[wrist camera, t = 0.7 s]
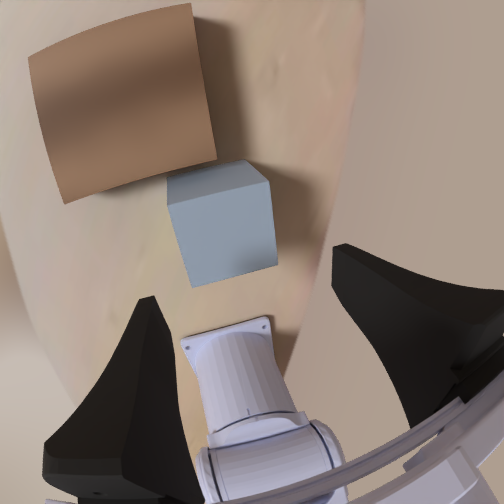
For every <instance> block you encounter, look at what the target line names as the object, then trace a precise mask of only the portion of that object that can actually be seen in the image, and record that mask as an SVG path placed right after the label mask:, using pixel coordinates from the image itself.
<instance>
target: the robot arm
mask: <svg viewBox="0 0 504 504" xmlns="http://www.w3.org/2000/svg"><path fill="white" fill-rule="evenodd" d="M331 286H332V288H333V290H334V291H335V293H336V295H337V297H338V299H339V301H340V302H341V304H342V306H343V307H344V308H345V310H346V311H347V312H348V314H349V315H350V316H351V318H352V319H353V320H354V322H355V323H356V324H357V325H358V327H359V328H360V330H361V331H362V332H363V333H364V335H365V336H366V338H367V339H368V340H369V342H370V343H371V345H372V346H373V348H374V349H375V351H376V353H377V354H378V356H379V358H380V360H381V361H382V363H383V365H384V367H385V369H386V371H387V373H388V375H389V377H390V379H391V381H392V383H393V385H394V387H395V389H396V392H397V394H398V396H399V399H400V401H401V403H402V406H403V408H404V411H405V414H406V417H407V420H408V423H409V426H410V428H411V429H410V430H408V431H407V432H405V433H403V434H402V435H400V436H398V437H397V438H395V439H393V440H391V441H389V442H388V443H386V444H384V445H382V446H380V447H378V448H376V449H374V450H373V451H371V452H369V453H367V454H364V455H362V456H360V457H358V458H356V459H354V460H352V461H350V462H347V463H346V461H345V457H344V454H343V451H342V448H341V446H340V443H339V441H338V440H337V438H336V436H335V434H334V433H333V431H332V430H331V429H330V428H329V427H328V426H327V425H325V424H323V423H321V422H320V421H318V420H316V419H315V420H311V421H309V420H308V418H307V416H306V414H305V412H304V411H302V412H297V410H296V407H295V405H294V403H293V400H292V398H291V396H290V394H289V391H288V389H287V387H286V384H285V382H284V380H283V377H282V375H281V373H280V370H279V368H278V366H277V363H276V361H275V357H274V349H273V342H272V334H271V327H270V321H269V319H268V317H265V316H264V317H260V318H257V319H253V320H250V321H246V322H243V323H239V324H236V325H232V326H228V327H225V328H221V329H217V330H213V331H210V332H206V333H202V334H198V335H194V336H190V337H186V338H183V339H182V340H181V346H182V348H183V350H184V352H185V354H186V356H187V358H188V360H189V362H190V364H191V366H192V368H193V370H194V372H195V374H196V376H197V378H198V382H199V387H200V392H201V397H202V402H203V407H204V412H205V416H206V421H207V425H208V430H209V434H208V435H207V439H208V443H209V447H202V448H201V449H200V452H199V453H198V454H197V456H196V469H197V475H198V479H199V482H198V479H197V476H196V473H195V470H194V467H193V463H192V460H191V457H190V453H189V450H188V446H187V442H186V438H185V434H184V430H183V426H182V421H181V417H180V411H179V404H178V394H177V380H176V366H175V353H174V347H173V342H172V336H171V332H170V329H169V327H168V325H167V323H166V321H165V319H164V317H163V314H162V312H161V310H160V308H159V305H158V303H157V301H156V299H155V296H150V297H146V298H142V299H139V301H138V303H137V305H136V307H135V309H134V311H133V314H132V316H131V318H130V320H129V322H128V325H127V327H126V329H125V331H124V333H123V335H122V337H121V340H120V342H119V344H118V346H117V348H116V350H115V351H114V353H113V355H112V357H111V359H110V361H109V363H108V365H107V366H106V368H105V370H104V371H103V373H102V375H101V376H100V378H99V379H98V381H97V382H96V384H95V385H94V387H93V388H92V389H91V391H90V392H89V394H88V395H87V396H86V398H85V399H84V400H83V402H82V403H81V404H80V406H79V407H78V408H77V409H76V410H75V412H74V413H73V414H72V415H71V416H70V417H69V419H68V420H67V421H66V422H65V423H64V424H63V425H62V426H61V427H60V428H59V429H58V430H57V431H56V432H55V433H54V434H53V435H52V436H51V437H50V438H49V439H48V440H47V441H46V442H45V443H44V452H43V453H44V454H43V471H42V476H43V479H44V480H45V481H46V482H47V483H49V484H50V485H52V486H54V487H56V488H58V489H60V490H62V491H64V492H66V493H69V494H71V495H74V496H76V497H78V504H204V502H206V504H499V503H498V501H497V499H496V497H495V496H494V494H493V492H492V490H491V489H490V487H489V485H488V484H487V482H486V480H485V479H484V477H483V476H482V474H481V472H480V471H479V469H478V467H479V466H480V465H481V464H482V463H483V461H485V460H486V459H487V458H488V456H489V455H490V454H491V453H492V452H493V451H494V450H495V449H496V448H497V447H498V446H499V444H500V443H501V442H502V441H503V440H504V336H503V333H504V290H494V289H480V288H473V287H466V286H460V285H455V284H451V283H447V282H442V281H439V280H435V279H432V278H429V277H426V276H423V275H420V274H417V273H414V272H412V271H409V270H407V269H404V268H401V267H399V266H397V265H394V264H392V263H390V262H387V261H385V260H383V259H381V258H378V257H376V256H374V255H372V254H370V253H368V252H365V251H363V250H361V249H359V248H357V247H354V246H352V245H349V244H346V243H345V244H342V245H338V246H334V247H333V257H332V285H331ZM264 325H265V326H264ZM187 346H189V347H187ZM437 433H438V435H437V437H436V438H434V439H433V440H432V441H430V442H429V443H428V444H427V445H425V446H424V447H422V448H421V449H420V450H419V452H418V453H417V454H415V455H414V456H413V457H412V458H411V459H409V460H408V461H407V462H405V463H404V464H403V468H404V469H405V471H406V473H404V474H403V475H401V476H399V477H397V478H396V479H394V480H392V481H390V482H388V483H387V484H385V485H383V486H381V487H379V488H377V489H375V490H373V491H371V492H369V493H367V494H365V495H363V496H361V497H359V498H357V499H355V500H353V501H350V502H349V501H348V497H347V496H348V490H347V485H348V484H349V483H352V482H354V481H356V480H358V479H360V478H363V477H365V476H367V475H369V474H371V473H373V472H375V471H377V470H378V469H380V468H382V467H384V466H386V465H388V464H390V463H391V462H393V461H395V460H397V459H398V458H400V457H402V456H403V455H405V454H407V453H408V452H410V451H412V450H413V449H415V448H416V447H418V446H420V445H421V444H423V443H424V442H426V441H427V440H428V439H430V438H432V437H433V436H434V435H436V434H437ZM199 483H200V484H199ZM45 504H75V503H71V502H64V501H57V500H50V499H46V500H45Z"/></svg>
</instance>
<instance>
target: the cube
mask: <svg viewBox="0 0 504 504" xmlns="http://www.w3.org/2000/svg"><path fill="white" fill-rule="evenodd" d="M167 207H168V210H169V214H170V217H171V221H172V224H173V228H174V231H175V235H176V238H177V241H178V245H179V248H180V251H181V255H182V258H183V261H184V264H185V267H186V270H187V274H188V277H189V280H190V283H191V286H192V288H194V287H198V286H202V285H206V284H209V283H213V282H217V281H221V280H224V279H228V278H232V277H235V276H239V275H243V274H246V273H250V272H254V271H257V270H261V269H265V268H268V267H272V266H275V265H278V258H277V248H276V238H275V229H274V220H273V211H272V202H271V193H270V184H269V181H268V180H267V179H266V178H265V177H264V176H263V175H262V174H261V173H259V172H258V171H257V170H256V169H255V168H254V167H253V166H252V165H251V164H249V163H248V162H247V161H246V160H245V159H243V160H238V161H234V162H229V163H224V164H220V165H215V166H211V167H206V168H202V169H198V170H194V171H190V172H186V173H182V174H178V175H174V176H170V177H167Z"/></svg>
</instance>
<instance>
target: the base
mask: <svg viewBox="0 0 504 504" xmlns="http://www.w3.org/2000/svg"><path fill="white" fill-rule="evenodd" d="M28 62H29V69H30V76H31V83H32V88H33V94H34V99H35V104H36V109H37V114H38V118H39V123H40V127H41V131H42V135H43V139H44V142H45V146H46V150H47V153H48V157H49V160H50V163H51V167H52V170H53V173H54V176H55V179H56V182H57V185H58V188H59V191H60V194H61V196H62V199H63V202H64V204H67V203H70V202H73V201H75V200H78V199H81V198H84V197H87V196H89V195H92V194H95V193H98V192H101V191H104V190H107V189H110V188H113V187H117V186H120V185H123V184H126V183H129V182H133V181H136V180H140V179H143V178H146V177H150V176H153V175H157V174H161V173H164V172H168V171H172V170H176V169H180V168H184V167H188V166H192V165H196V164H200V163H204V162H209V161H213V160H217V154H216V149H215V143H214V138H213V132H212V127H211V121H210V115H209V110H208V104H207V98H206V92H205V86H204V81H203V75H202V69H201V63H200V57H199V51H198V44H197V38H196V32H195V26H194V19H193V13H192V7H191V3H186V4H181V5H175V6H170V7H165V8H160V9H156V10H151V11H147V12H143V13H139V14H135V15H132V16H128V17H125V18H121V19H118V20H115V21H112V22H109V23H106V24H103V25H100V26H97V27H94V28H91V29H89V30H86V31H84V32H81V33H78V34H76V35H74V36H71V37H69V38H67V39H64V40H62V41H60V42H58V43H55V44H53V45H51V46H49V47H47V48H45V49H43V50H41V51H39V52H37V53H35V54H33V55H31V56H30V57H28Z"/></svg>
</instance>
